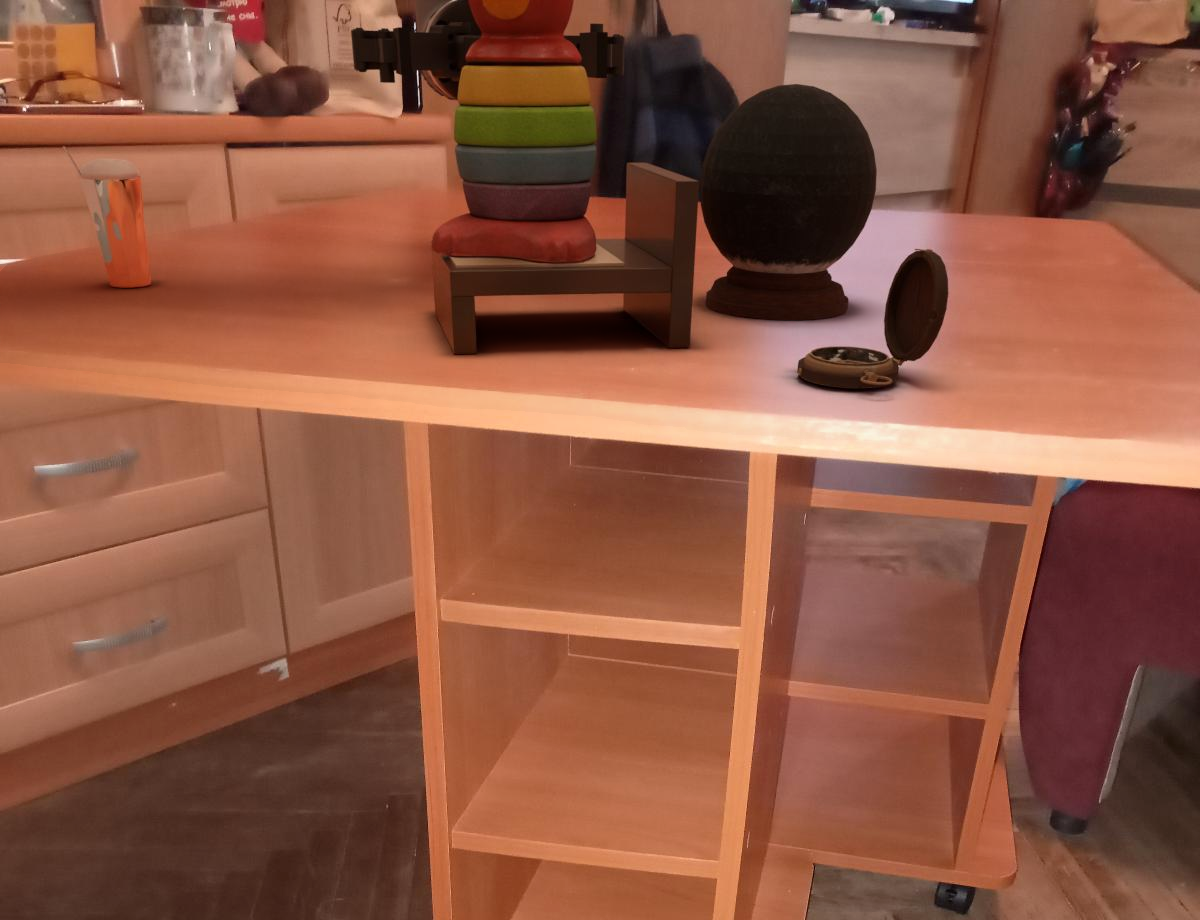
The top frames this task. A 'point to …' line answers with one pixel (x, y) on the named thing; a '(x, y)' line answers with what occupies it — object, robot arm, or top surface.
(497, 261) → the dollhouse bed
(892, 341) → the compass
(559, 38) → the stacking bear
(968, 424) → the top surface
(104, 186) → the milkshake
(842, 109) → the dark ball on base
